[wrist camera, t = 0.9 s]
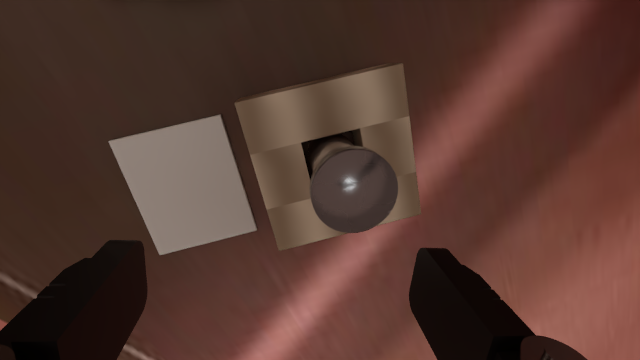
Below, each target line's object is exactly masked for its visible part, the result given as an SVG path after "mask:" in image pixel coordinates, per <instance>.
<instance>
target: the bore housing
mask: <svg viewBox="0 0 640 360" xmlns="http://www.w3.org/2000/svg"><path fill="white" fill-rule="evenodd" d="M235 106H236V110H237V113H238V116H239V120H240V123H241V126H242V130H243V133H244V136H245V140H246V143H247V146H248V150H249V153H250V156H251V160H252V163H253V166H254V170H255V173H256V176H257V180H258V183H259V186H260V189H261V193H262V196H263V199H264V203H265V206H266V209H267V213H268V216H269V219H270V223H271V226H272V229H273V233H274V236H275V239H276V243H277V246H278V249H279V251H281V250H285V249H289V248H293V247H297V246H300V245H304V244H308V243H312V242H316V241H320V240H323V239H327V238H331V237H335V236H339V235H343V234H347V233H345V232H340V231H336V230H334V229H332V228H330V227H328V226H327V225H326V224H324V223H323V222H322V221H321V220H320V219H319V217H318V216H317V214H316V212H315V210H314V208H313V205H312V201H311V198H310V189H309V187H310V178H309V174H308V169H307V165H306V161H305V157H304V153H303V149H302V145H301V142H305V141H309V140H313V139H318V138H322V137H326V136H330V135H334V134H338V133H342V132H346V131H350V130H352V134H353V139H354V145H355V146H361V147H366V148H368V149H371V150H373V151H375V152H376V153H378V154H379V155H380V156H382V157H383V158H384V159H385V160H386V161H387V162H388V163H389V164H390V165H391V167H392V168H393V170H394V172H395V174H396V177H397V181H398V195H397V199H396V202H395V205H394V207H393V209H392V210H391V212H390V213H389V215H388V216H387V217H386V218H385V219H384V220H383V221H382V222H381V223H379V224H378V225H381V224H385V223H389V222H393V221H397V220H400V219H404V218H408V217H412V216H416V215H420V214H421V209H420V200H419V192H418V184H417V176H416V167H415V159H414V151H413V143H412V134H411V126H410V118H409V110H408V101H407V93H406V85H405V77H404V68H403V63H387V64H383V65H378V66H374V67H370V68H365V69H361V70H357V71H353V72H348V73H344V74H340V75H336V76H331V77H327V78H323V79H319V80H314V81H310V82H306V83H302V84H297V85H293V86H289V87H285V88H280V89H276V90H272V91H267V92H263V93H259V94H255V95H250V96H246V97H242V98H239V99H238V100H237V101H236V102H235ZM376 226H377V225H376Z"/></svg>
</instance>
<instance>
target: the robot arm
mask: <svg viewBox="0 0 640 360" xmlns="http://www.w3.org/2000/svg"><path fill="white" fill-rule="evenodd" d="M146 299H147V278H146V267H145V255H144V247H143V244H142V242H141V241H134V240H109V241H108V242H106V243H105V244H104V246H103V247H102V248H101V249H100V250H99V251H98V252H97V253H96V254H95V255H94V256H93V257H92V258H84V259H82V260H81V261H79V262H77V263H75V264H73V265H71V266H70V267H68V268H66V269H64V270H63V271H62V272H61V273H60V274H59V275H58V276H57V277H56V278H55V279H54V280H53V281H52V282H51V283H50V285H49V286H46V287H45V288H44V289H43V290H42V291H41V292H40V293H39V294H38V295H37V298H36V299H33V300H32V301H31V302H30V303H29V304H28V305H27V306H26V307H25V308H24V309H23V310H21V311H20V312H19V313H18V314H17V315H16V316H15V317H14V318H13V319H12V320H11V321H10V322H9V323H8V324H7V325H6V326H5V327H4V328H3V329H2V330H1V331H0V360H117V358H118V356H119V354H120V352H121V351H122V349H123V347H124V345H125V343H126V341H127V340H128V338H129V336H130V334H131V332H132V331H133V329H134V327H135V325H136V323H137V321H138V320H139V318H140V316H141V314H142V312H143V310H144V307H145V304H146ZM409 301H410V307H411V310H412V312H413V314H414V316H415V318H416V320H417V322H418V324H419V326H420V328H421V329H422V331H423V333H424V335H425V337H426V339H427V341H428V343H429V344H430V346H431V348H432V350H433V352H434V354H435V356H436V358H437V360H587V359H586V358H585V357H584V356H582V355H581V354H580V353H579V352H577V351H576V350H574V349H573V348H571V347H569V346H568V345H566V344H564V343H562V342H559V341H557V340H554V339H551V338H548V337H544V336H536V335H535V334H534V333H533V332H532V331H531V330H530V328H529V327H528V326H527V325H526V324H525V323H524V322H523V321H522V320H521V319H520V318H519V317H518V316H517V315H516V314H515V312H514V311H513V310H512V309H511V308H510V307H509V306H508V305H507V304H506V303H505V302H504V301H503V300H501V299H500V296H499V295H498V294H497V293H496V292H495V291H494V290H491V287H490V286H489V285H488V284H487V283H486V282H485V280H484V279H483V278H482V277H481V276H480V275H478V274H477V273H475V272H474V271H472V270H471V269H469V268H468V267H466V266H465V265H461V264H460V263H459V261H458V260H457V259H456V258H455V257H454V256H453V255H452V254H451V253H450V251H449V250H448V249H445V248H421V249H420V250H419V251H418V253H417V257H416V262H415V267H414V271H413V276H412V281H411V286H410V291H409Z"/></svg>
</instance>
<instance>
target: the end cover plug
mask: <svg viewBox="0 0 640 360" xmlns="http://www.w3.org/2000/svg"><path fill="white" fill-rule="evenodd" d="M307 156H308V160H309V163H310V165H311V168H312V171H313V174H312V176H311V180H310V187H309V189H310V198H311V201H312V205H313V208H314V210H315V212H316V214H317V216H318V217H319V219H320V220H321V221H322V222H323V223H324V224H326V225H327V226H328V227H330V228H332V229H334V230H336V231H340V232H345V233H358V232H363V231H366V230H369V229H371V228H373V227H375V226H376V225H378V224H379V223H381V222H382V221H383V220H384V219H385V218H386V217H387V216H388V215H389V213H390V212H391V210H392V209H393V207H394V205H395V202H396V199H397V195H398V181H397V177H396V174H395V172H394V170H393V168H392V167H391V165H390V164H389V163H388V162H387V161H386V160H385V159H384V158H383V157H382V156H380V155H379V154H378V153H376V152H375V151H373V150H371V149H368V148H366V147H361V146H354V145H353V144H352V143H351V142H350V141H349V140H348V139H347V138H346V137H345V136H344V135H343V134H341V133H338V134H334V135H330V136H326V137H322V138H318V139H313V140H311V142H310V143H309V146H308V150H307Z"/></svg>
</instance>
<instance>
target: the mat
mask: <svg viewBox="0 0 640 360" xmlns="http://www.w3.org/2000/svg"><path fill="white" fill-rule="evenodd" d="M109 144H110V146H111V148H112V150H113V153H114V155H115V157H116V159H117V161H118V164H119V166H120V168H121V170H122V173H123V175H124V177H125V179H126V181H127V184H128V186H129V188H130V190H131V193H132V195H133V197H134V199H135V201H136V204H137V206H138V208H139V210H140V213H141V215H142V217H143V219H144V221H145V224H146V226H147V228H148V230H149V233H150V235H151V237H152V239H153V241H154V244H155V246H156V248H157V250H158V253H159V255H163V254H166V253H170V252H174V251H178V250H182V249H186V248H190V247H194V246H198V245H202V244H206V243H209V242H213V241H217V240H221V239H225V238H229V237H233V236H237V235H241V234H245V233H249V232H252V231H256V230H257V225H256V222H255V219H254V216H253V213H252V210H251V207H250V203H249V200H248V197H247V194H246V191H245V188H244V185H243V181H242V178H241V175H240V172H239V169H238V166H237V163H236V160H235V156H234V153H233V150H232V147H231V144H230V141H229V138H228V134H227V131H226V128H225V125H224V122H223V119H222V116H221V114H219V115H215V116H211V117H207V118H202V119H198V120H194V121H190V122H185V123H181V124H177V125H173V126H169V127H164V128H160V129H156V130H152V131H147V132H143V133H139V134H135V135H131V136H126V137H122V138H118V139H114V140H110V141H109Z"/></svg>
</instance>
